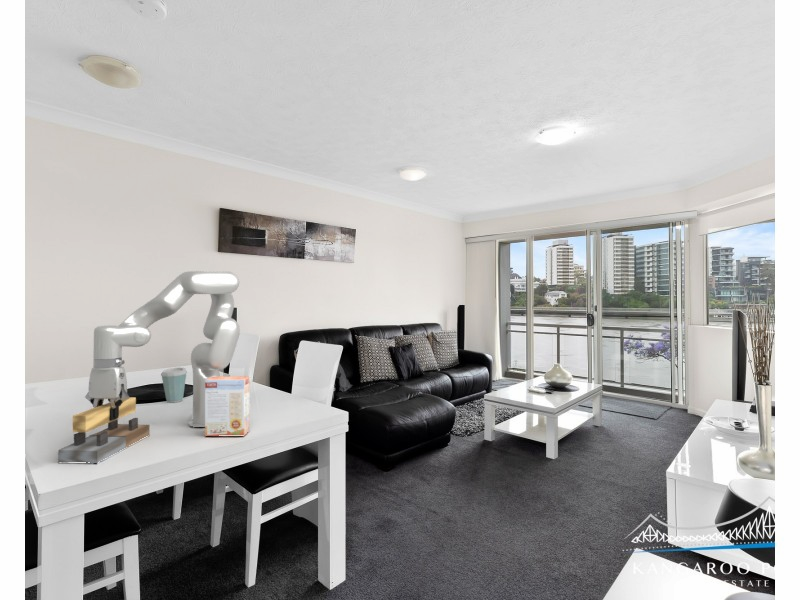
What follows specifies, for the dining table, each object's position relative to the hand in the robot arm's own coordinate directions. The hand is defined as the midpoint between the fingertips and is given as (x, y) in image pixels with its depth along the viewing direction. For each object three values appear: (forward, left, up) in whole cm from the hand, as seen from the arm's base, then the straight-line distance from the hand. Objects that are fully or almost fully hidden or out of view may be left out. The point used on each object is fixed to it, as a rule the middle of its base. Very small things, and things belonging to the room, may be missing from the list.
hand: (106, 418), depth 133 cm
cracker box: (-33, -15, -10) cm, 38 cm away
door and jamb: (0, 0, -10) cm, 10 cm away
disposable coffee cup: (+12, -57, -10) cm, 59 cm away
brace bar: (0, 0, -1) cm, 1 cm away
